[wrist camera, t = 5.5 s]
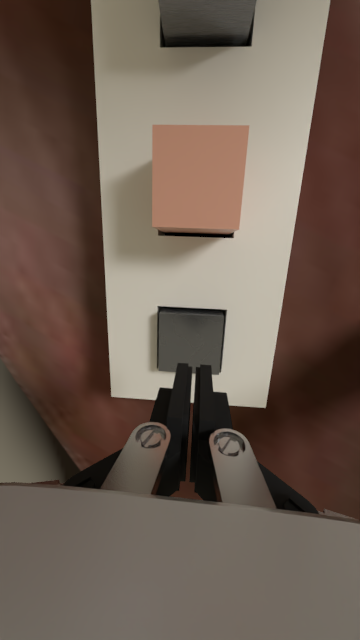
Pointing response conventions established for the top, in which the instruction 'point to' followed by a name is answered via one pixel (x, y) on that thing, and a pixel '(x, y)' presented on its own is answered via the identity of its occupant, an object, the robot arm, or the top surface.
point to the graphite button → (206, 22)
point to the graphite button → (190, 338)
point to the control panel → (258, 190)
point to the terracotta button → (198, 177)
